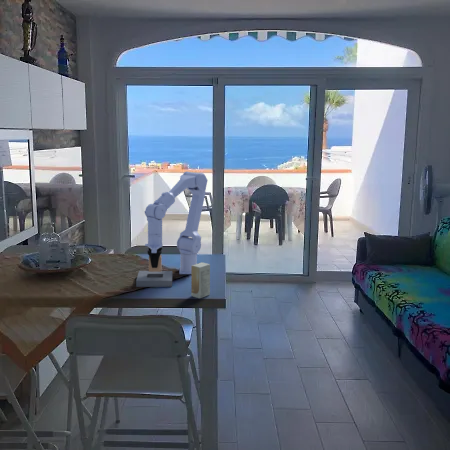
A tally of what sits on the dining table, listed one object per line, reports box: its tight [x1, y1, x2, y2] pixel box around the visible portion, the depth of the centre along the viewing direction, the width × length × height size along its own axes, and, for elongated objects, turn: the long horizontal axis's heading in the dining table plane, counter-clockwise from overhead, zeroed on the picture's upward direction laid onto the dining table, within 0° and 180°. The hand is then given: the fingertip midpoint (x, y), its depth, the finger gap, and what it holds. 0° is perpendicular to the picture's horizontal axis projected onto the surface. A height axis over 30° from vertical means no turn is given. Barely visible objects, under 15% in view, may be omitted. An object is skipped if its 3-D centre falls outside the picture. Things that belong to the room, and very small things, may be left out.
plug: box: [148, 254, 163, 272], centre depth 197 cm, size 4×5×8 cm
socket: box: [135, 270, 173, 288], centre depth 198 cm, size 14×14×2 cm
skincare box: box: [190, 261, 211, 299], centre depth 182 cm, size 6×4×12 cm
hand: (154, 266), depth 197 cm, fingers closed on plug, 4 cm apart
